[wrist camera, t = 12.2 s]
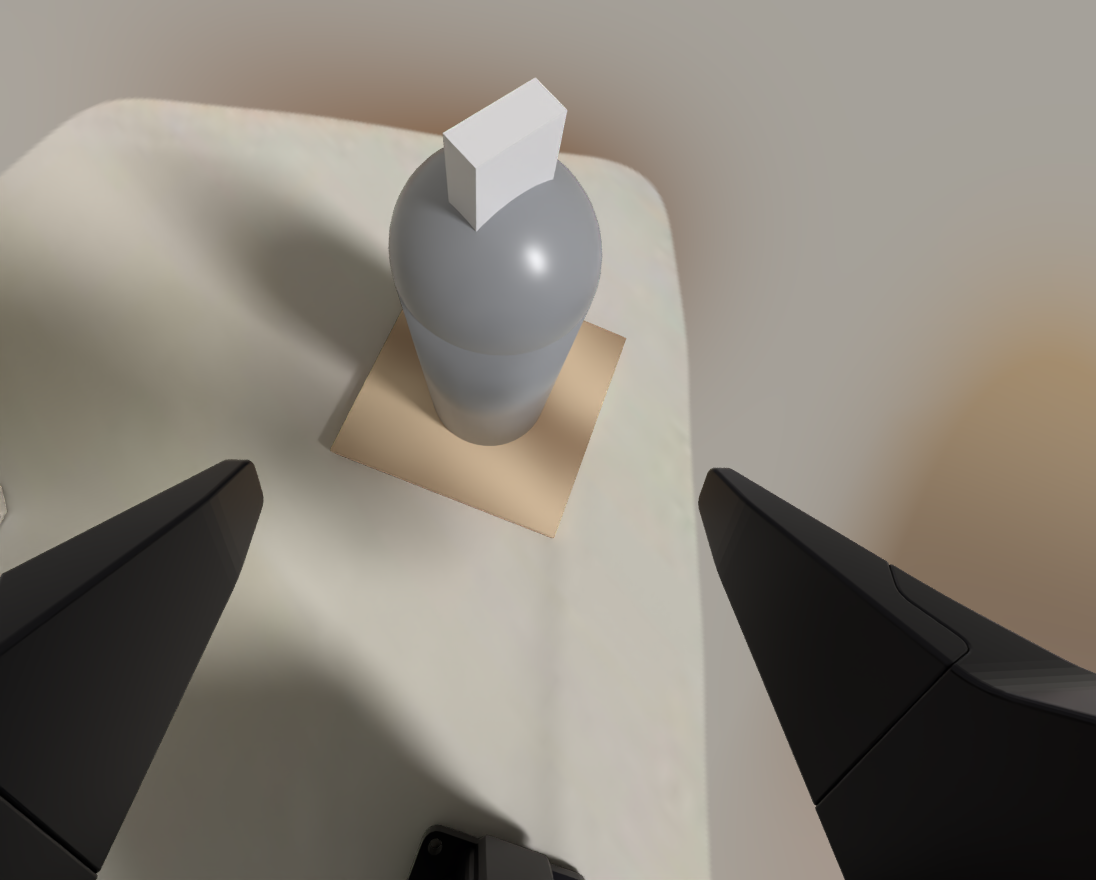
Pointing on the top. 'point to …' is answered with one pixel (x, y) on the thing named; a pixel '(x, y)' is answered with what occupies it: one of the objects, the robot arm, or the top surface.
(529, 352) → the grey bottle
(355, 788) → the top surface
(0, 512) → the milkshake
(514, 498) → the cork mat
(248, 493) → the robot arm
